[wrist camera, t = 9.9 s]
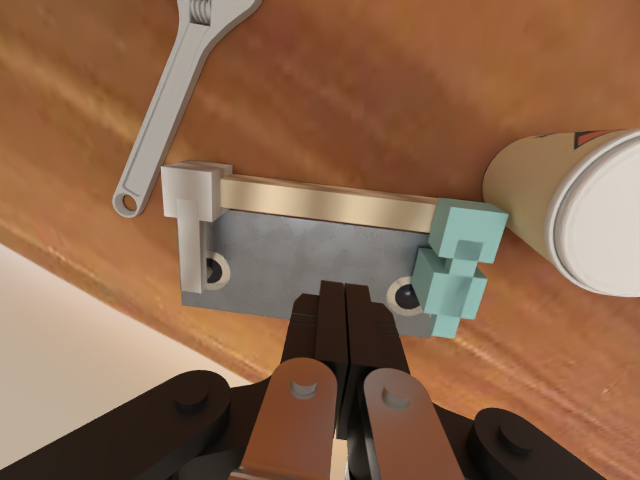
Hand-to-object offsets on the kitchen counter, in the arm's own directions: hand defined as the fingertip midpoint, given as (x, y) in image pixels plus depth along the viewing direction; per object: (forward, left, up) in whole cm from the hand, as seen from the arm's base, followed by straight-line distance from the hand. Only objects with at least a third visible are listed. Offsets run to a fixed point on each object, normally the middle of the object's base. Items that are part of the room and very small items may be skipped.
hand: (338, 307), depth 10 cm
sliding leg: (+10, -4, -18) cm, 21 cm away
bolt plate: (-2, -8, -20) cm, 22 cm away
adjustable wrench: (-16, +7, -20) cm, 27 cm away
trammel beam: (-2, -4, -20) cm, 20 cm away
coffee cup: (+16, +3, -20) cm, 26 cm away
